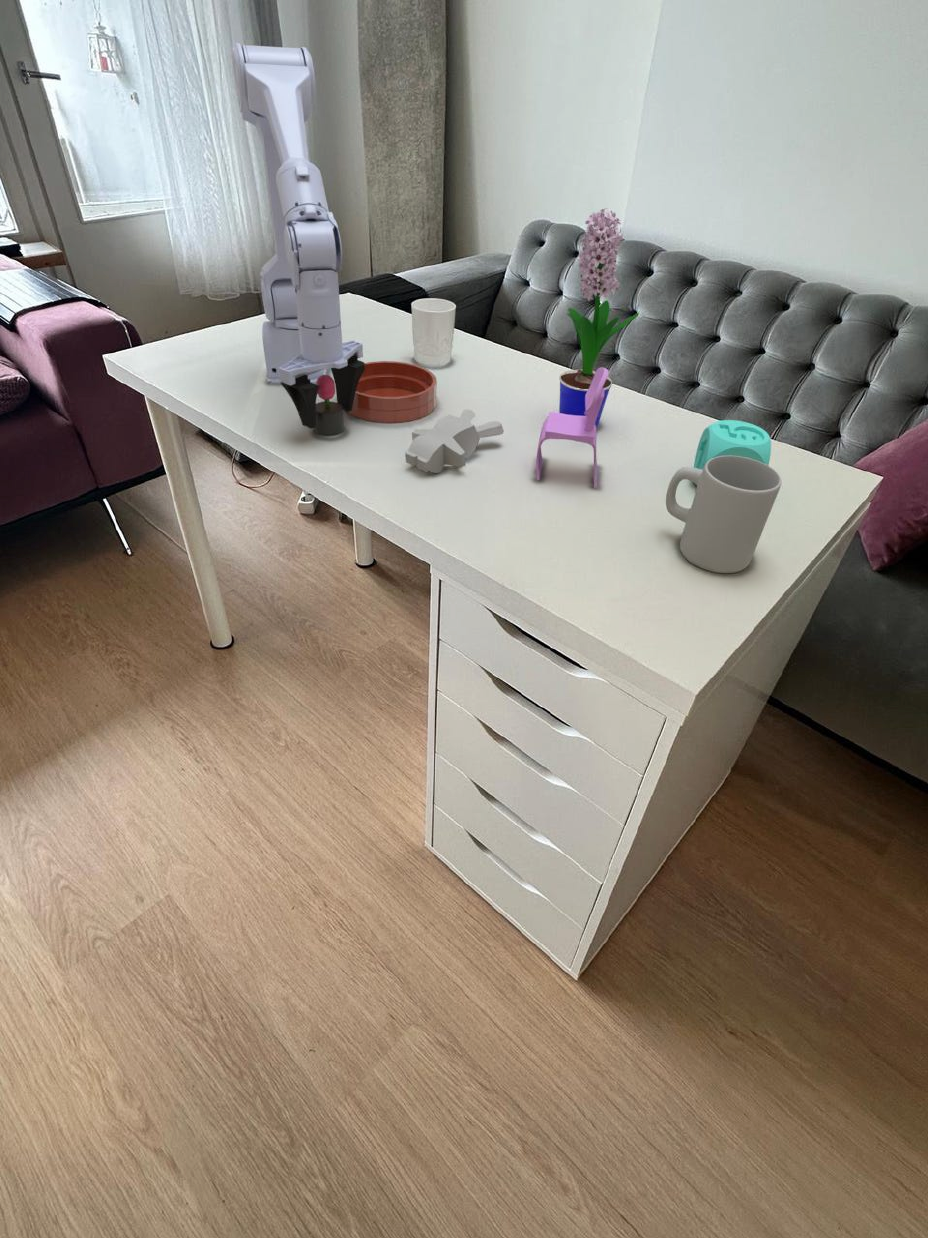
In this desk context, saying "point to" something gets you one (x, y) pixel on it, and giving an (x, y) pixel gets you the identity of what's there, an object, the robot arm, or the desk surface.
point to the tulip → (328, 409)
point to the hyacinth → (596, 332)
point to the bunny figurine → (448, 442)
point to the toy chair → (576, 422)
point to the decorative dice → (733, 442)
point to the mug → (724, 511)
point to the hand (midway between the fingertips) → (327, 417)
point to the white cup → (433, 330)
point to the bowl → (394, 392)
